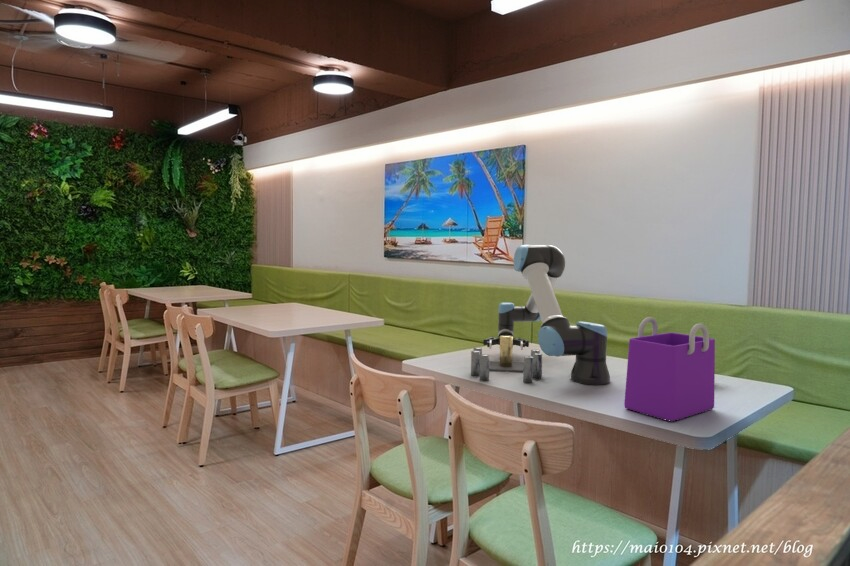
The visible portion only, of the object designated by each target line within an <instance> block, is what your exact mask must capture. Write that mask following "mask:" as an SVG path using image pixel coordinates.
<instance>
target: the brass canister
mask: <svg viewBox="0 0 850 566" xmlns="http://www.w3.org/2000/svg"><path fill="white" fill-rule="evenodd" d="M513 346H514V345H513V336H509V335H502V336H500V345H499V361H500V366H501V367H512V362H513V356H514V355H513V354H514V353H513V351H514V348H513Z"/></svg>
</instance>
